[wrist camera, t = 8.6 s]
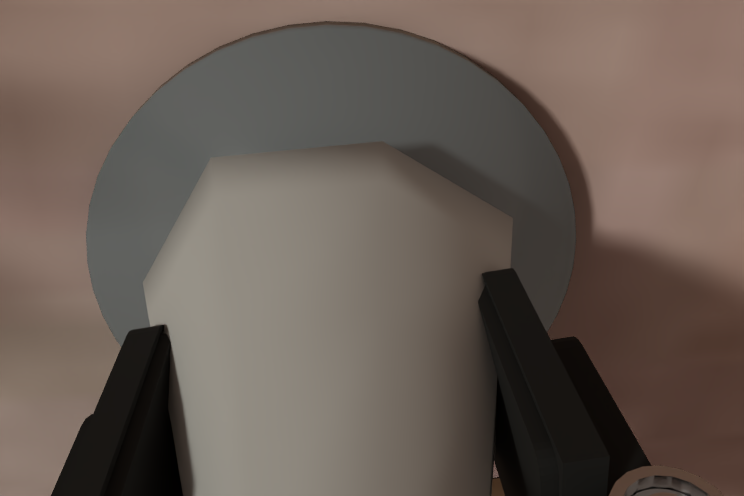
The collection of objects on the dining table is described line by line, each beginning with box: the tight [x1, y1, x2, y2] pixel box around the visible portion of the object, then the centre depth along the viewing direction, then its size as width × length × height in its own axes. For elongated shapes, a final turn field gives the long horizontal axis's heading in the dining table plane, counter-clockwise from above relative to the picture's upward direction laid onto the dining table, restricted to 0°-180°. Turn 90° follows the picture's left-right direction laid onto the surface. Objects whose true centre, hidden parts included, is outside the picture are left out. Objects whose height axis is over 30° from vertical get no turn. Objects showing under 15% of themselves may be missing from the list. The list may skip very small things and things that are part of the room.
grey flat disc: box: [86, 21, 576, 347], centre depth 13 cm, size 10×10×1 cm
